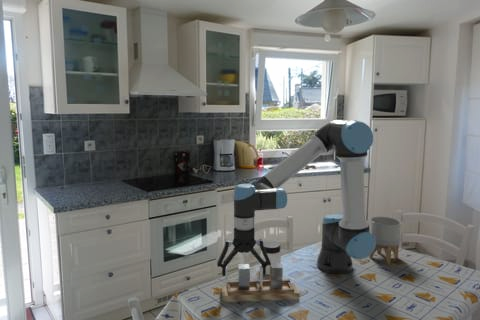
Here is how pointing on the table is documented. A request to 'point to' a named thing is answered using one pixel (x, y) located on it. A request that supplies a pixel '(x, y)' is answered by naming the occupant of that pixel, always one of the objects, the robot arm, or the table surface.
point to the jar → (271, 253)
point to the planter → (386, 236)
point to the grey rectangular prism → (243, 277)
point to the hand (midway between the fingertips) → (243, 283)
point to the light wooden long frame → (263, 288)
